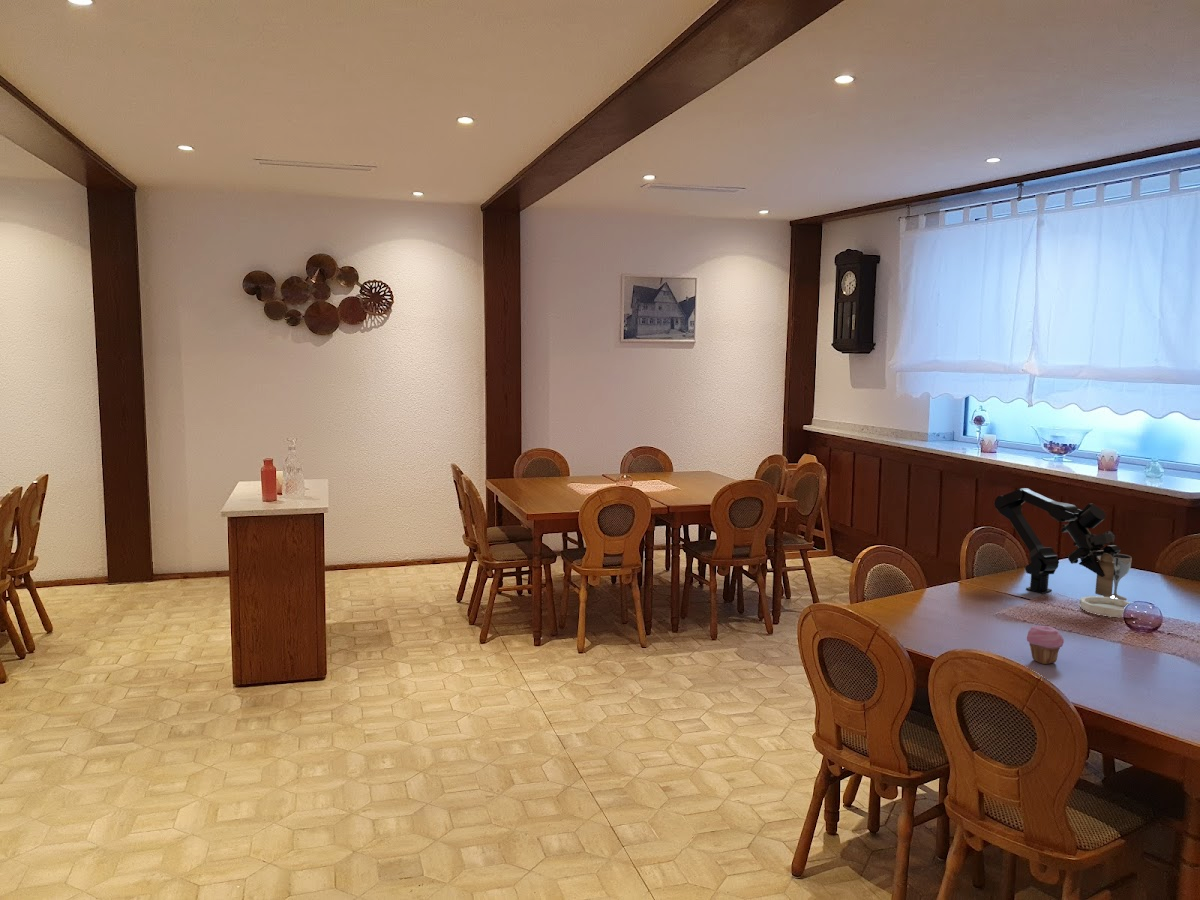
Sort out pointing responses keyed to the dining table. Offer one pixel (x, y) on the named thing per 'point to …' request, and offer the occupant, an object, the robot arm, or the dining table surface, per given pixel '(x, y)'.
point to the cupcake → (1044, 643)
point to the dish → (1103, 605)
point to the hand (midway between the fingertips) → (1109, 575)
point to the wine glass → (1120, 572)
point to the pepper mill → (1106, 582)
